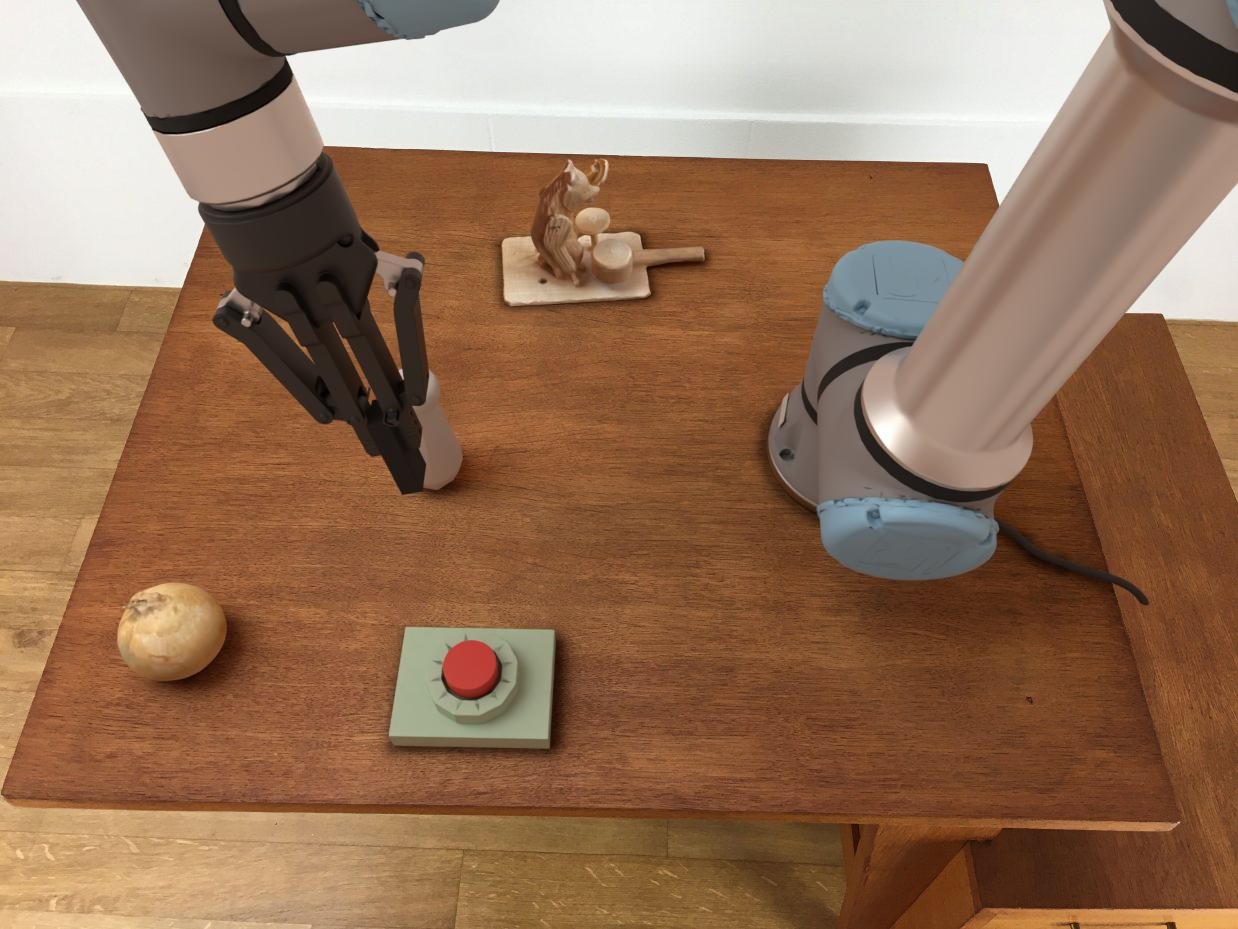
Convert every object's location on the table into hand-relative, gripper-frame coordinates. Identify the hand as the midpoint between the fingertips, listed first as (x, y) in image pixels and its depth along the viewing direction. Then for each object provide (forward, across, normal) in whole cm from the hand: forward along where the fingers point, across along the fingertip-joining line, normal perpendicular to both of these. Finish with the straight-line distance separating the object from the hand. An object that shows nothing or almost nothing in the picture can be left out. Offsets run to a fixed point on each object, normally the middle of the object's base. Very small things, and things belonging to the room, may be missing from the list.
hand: (414, 479), depth 67 cm
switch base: (+19, +1, +5) cm, 20 cm away
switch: (+15, 0, +6) cm, 16 cm away
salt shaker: (+14, +5, -16) cm, 22 cm away
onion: (+13, +24, +1) cm, 28 cm away
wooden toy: (+13, -12, -41) cm, 45 cm away
